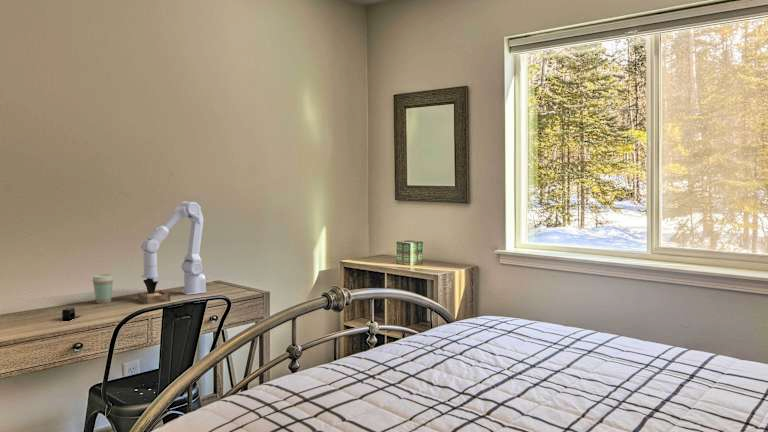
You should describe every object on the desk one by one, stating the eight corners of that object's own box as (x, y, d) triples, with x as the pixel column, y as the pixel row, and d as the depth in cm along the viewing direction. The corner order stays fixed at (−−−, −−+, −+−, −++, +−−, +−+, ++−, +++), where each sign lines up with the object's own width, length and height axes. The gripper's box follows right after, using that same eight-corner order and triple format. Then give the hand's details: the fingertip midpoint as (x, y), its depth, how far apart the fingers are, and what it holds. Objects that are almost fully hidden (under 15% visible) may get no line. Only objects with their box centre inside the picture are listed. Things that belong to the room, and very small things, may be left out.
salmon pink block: (157, 299, 274) (157, 292, 274) (162, 301, 270) (162, 295, 269) (146, 300, 271) (146, 294, 271) (150, 303, 267) (150, 296, 266)
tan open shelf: (162, 296, 278) (161, 290, 278) (170, 300, 270) (170, 294, 270) (137, 299, 272) (137, 293, 271) (145, 304, 263) (145, 297, 263)
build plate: (68, 316, 244) (68, 305, 243) (86, 316, 243) (85, 305, 243) (51, 324, 231) (50, 312, 231) (69, 324, 231) (69, 312, 231)
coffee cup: (117, 300, 270) (117, 274, 269) (107, 304, 262) (106, 277, 261) (100, 299, 271) (99, 273, 270) (88, 304, 262) (88, 277, 261)
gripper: (136, 264, 275) (137, 293, 276) (146, 268, 264) (147, 298, 265) (152, 262, 280) (152, 291, 281) (162, 267, 269) (163, 296, 270)
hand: (151, 294), depth 273 cm, fingers closed
